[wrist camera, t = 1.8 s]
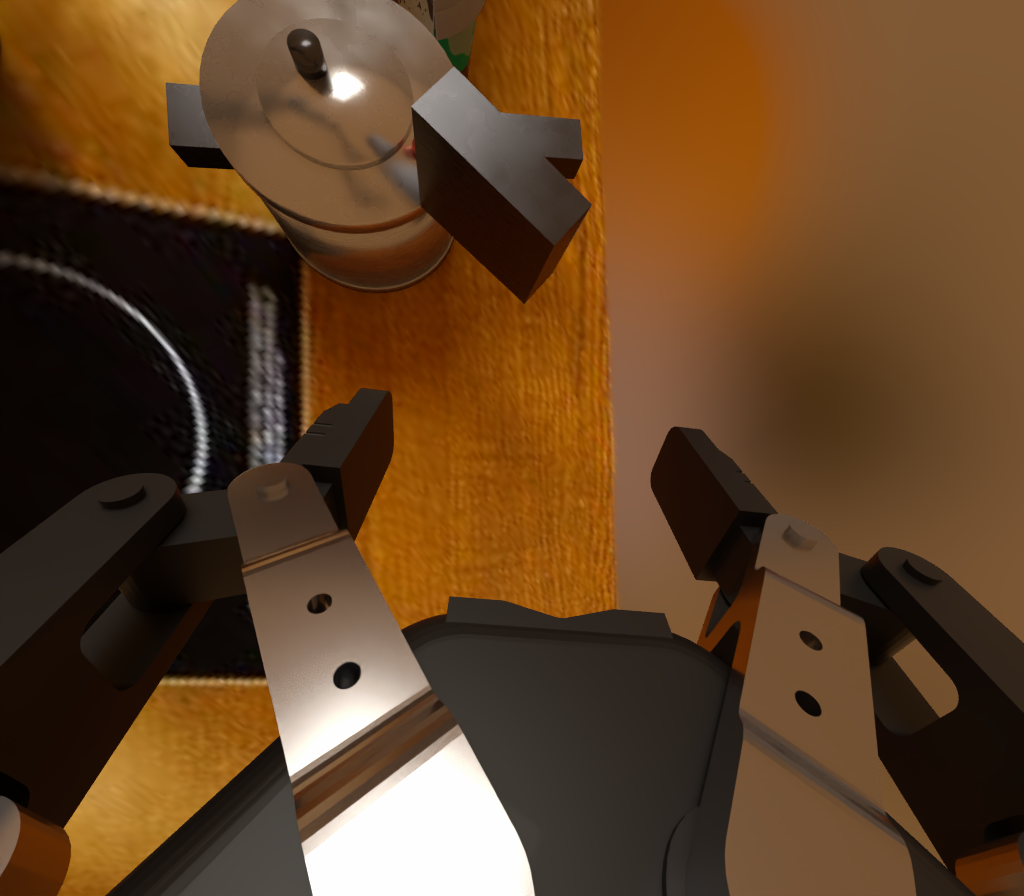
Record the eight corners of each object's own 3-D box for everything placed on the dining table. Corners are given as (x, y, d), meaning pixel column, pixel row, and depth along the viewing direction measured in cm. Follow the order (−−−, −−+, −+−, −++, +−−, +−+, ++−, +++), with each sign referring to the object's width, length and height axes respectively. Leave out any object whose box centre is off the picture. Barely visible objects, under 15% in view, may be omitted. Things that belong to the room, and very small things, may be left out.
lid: (151, 101, 23) (-8, -94, 15) (333, -47, 25) (281, -286, 17) (461, 376, 26) (469, 337, 18) (601, 221, 28) (665, 124, 20)
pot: (245, 292, 32) (169, 228, 23) (234, 116, 32) (154, -14, 23) (554, 293, 37) (589, 240, 28) (542, 140, 37) (573, 39, 28)
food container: (499, 119, 36) (519, -7, 27) (438, 133, 35) (436, 7, 26) (450, -5, 36) (453, -180, 26) (388, 5, 35) (366, -173, 25)
